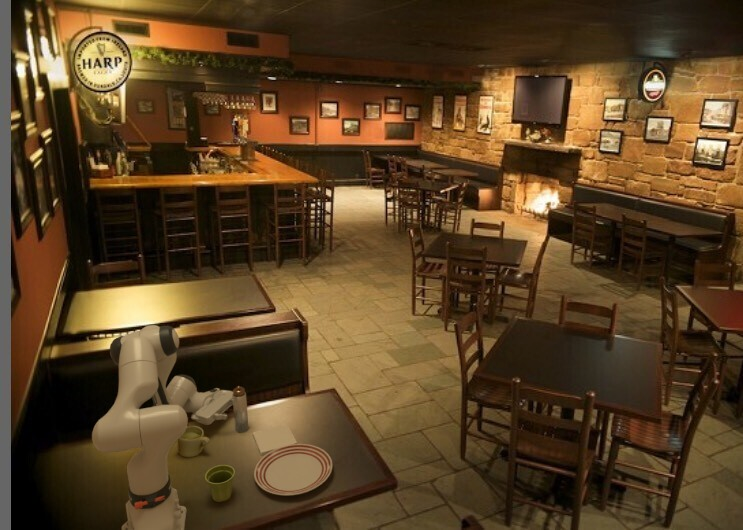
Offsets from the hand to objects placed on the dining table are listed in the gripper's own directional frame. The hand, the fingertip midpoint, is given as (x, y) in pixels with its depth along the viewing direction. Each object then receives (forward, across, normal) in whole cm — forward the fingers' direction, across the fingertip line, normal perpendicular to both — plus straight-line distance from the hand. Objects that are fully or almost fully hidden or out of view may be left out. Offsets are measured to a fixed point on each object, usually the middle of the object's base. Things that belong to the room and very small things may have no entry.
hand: (233, 410), depth 205 cm
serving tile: (+19, -2, +8) cm, 21 cm away
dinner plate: (+36, -17, +8) cm, 40 cm away
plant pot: (+18, -34, +8) cm, 40 cm away
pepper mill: (+3, 0, +8) cm, 9 cm away
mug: (-5, -18, +8) cm, 21 cm away
